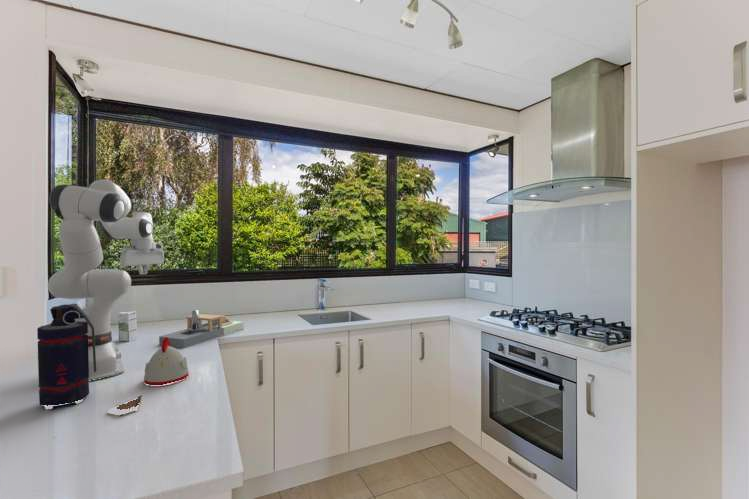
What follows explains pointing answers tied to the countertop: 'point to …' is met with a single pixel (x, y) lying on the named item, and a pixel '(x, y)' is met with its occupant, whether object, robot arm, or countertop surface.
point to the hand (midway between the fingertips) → (143, 274)
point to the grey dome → (166, 366)
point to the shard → (130, 404)
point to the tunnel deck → (195, 337)
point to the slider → (196, 324)
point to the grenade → (64, 356)
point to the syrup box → (127, 325)
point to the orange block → (222, 319)
